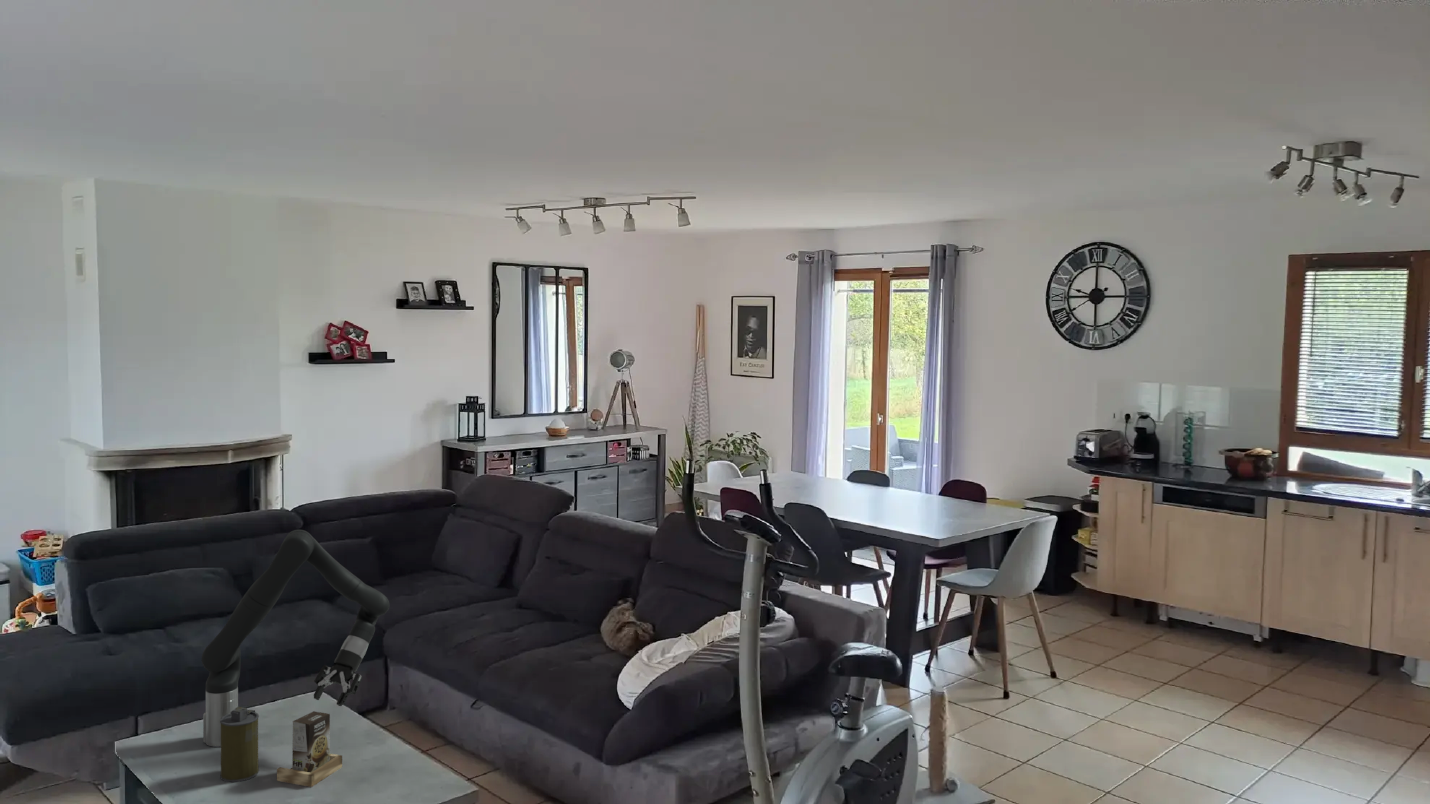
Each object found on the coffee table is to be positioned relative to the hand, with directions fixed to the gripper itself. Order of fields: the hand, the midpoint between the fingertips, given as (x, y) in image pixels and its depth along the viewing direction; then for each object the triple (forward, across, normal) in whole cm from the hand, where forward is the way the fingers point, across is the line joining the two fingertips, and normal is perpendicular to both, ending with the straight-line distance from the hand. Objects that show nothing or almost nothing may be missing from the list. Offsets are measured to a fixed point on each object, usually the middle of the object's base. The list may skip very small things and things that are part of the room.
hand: (327, 702), depth 308 cm
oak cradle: (+20, +4, +2) cm, 21 cm away
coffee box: (+20, +5, +2) cm, 20 cm away
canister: (+27, -14, -3) cm, 30 cm away
